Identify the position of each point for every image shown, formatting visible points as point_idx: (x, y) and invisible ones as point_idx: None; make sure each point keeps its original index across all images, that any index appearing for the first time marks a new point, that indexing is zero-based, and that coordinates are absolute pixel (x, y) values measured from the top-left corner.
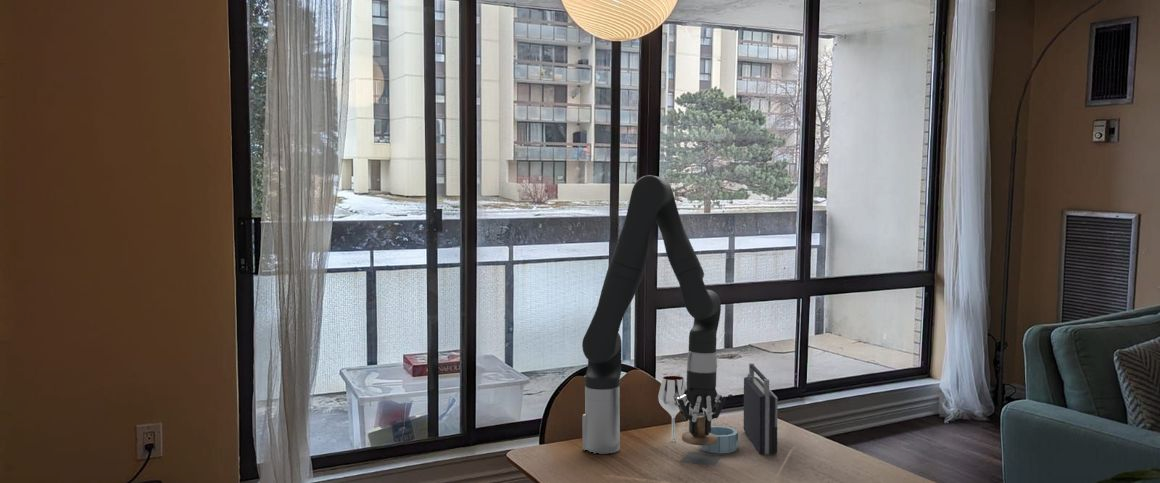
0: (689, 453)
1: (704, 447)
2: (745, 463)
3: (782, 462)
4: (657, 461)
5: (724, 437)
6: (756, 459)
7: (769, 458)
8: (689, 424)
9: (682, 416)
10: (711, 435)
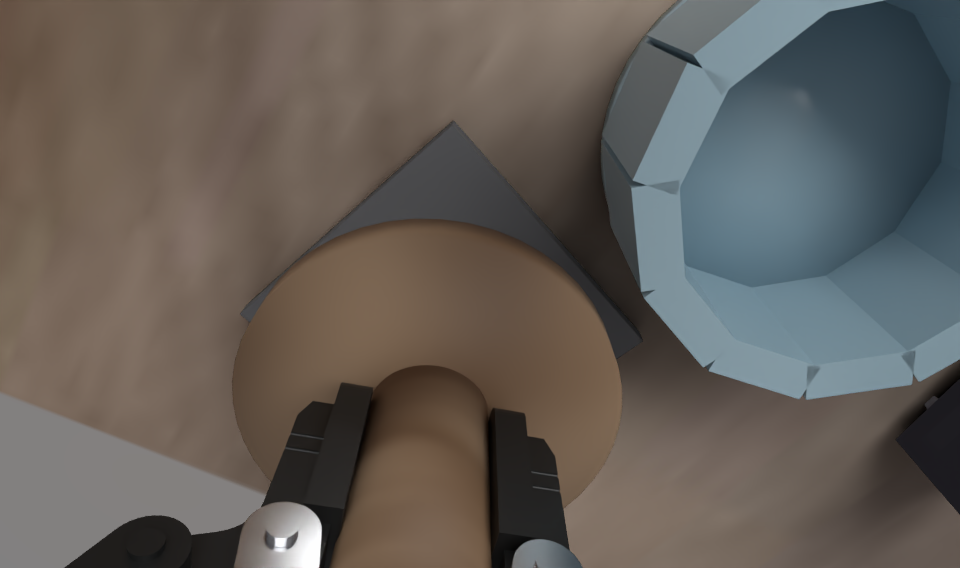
0: (428, 177)
1: (608, 179)
2: (680, 486)
3: (891, 561)
4: (93, 172)
5: (751, 379)
6: (812, 460)
7: (902, 480)
8: (273, 482)
9: (115, 539)
10: (568, 433)
